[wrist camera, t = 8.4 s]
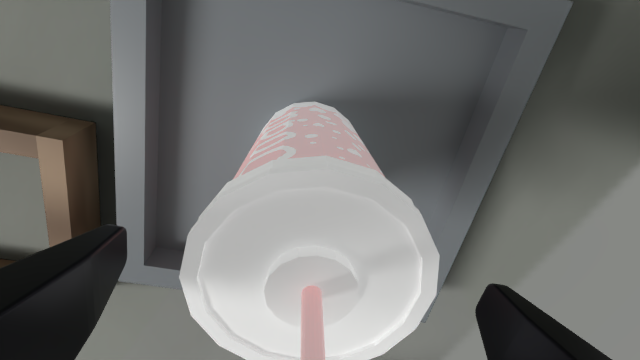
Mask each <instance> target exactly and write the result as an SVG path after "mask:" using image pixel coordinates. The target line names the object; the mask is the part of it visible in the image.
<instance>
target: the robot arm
mask: <svg viewBox="0 0 640 360" xmlns="http://www.w3.org/2000/svg"><path fill="white" fill-rule="evenodd" d="M126 261H127V231H126V229H125V228H124V227H123V226H117V225H110V224H105V225H103V226H100V227H98V228H95V229H93V230H91V231H88V232H86V233H83V234H81V235H79V236H76V237H74V238H71V239H69V240H66V241H64V242H62V243H59V244H57V245H54V246H52V247H50V248H47V249H45V250H42V251H40V252H38V253H35V254H33V255H30V256H28V257H26V258H23V259H21V260H18V261H16V262H13V263H11V264H9V265H6V266H4V267H1V268H0V360H75V358H76V357H77V355H78V353H79V352H80V350H81V349H82V347H83V345H84V344H85V342H86V341H87V339H88V338H89V336H90V334H91V333H92V331H93V329H94V328H95V326H96V324H97V322H98V320H99V318H100V316H101V314H102V312H103V310H104V308H105V306H106V304H107V302H108V300H109V298H110V296H111V294H112V291H113V289H114V287H115V285H116V283H117V281H118V279H119V277H120V275H121V273H122V271H123V269H124V267H125V264H126ZM476 318H477V322H478V326H479V329H480V333H481V337H482V340H483V344H484V348H485V351H486V355H487V359H488V360H612V359H610V358H609V357H607V356H606V355H604V354H603V353H602V352H600V351H599V350H597V349H596V348H595V347H593V346H592V345H590V344H589V343H588V342H586V341H585V340H583V339H582V338H580V337H579V336H577V335H576V334H575V333H573V332H572V331H570V330H569V329H568V328H566V327H565V326H563V325H562V324H560V323H559V322H557V321H556V320H555V319H553V318H552V317H551V316H549V315H548V314H546V313H545V312H543V311H542V310H540V309H539V308H537V307H536V306H535V305H533V304H532V303H531V302H529V301H528V300H526V299H525V298H523V297H522V296H520V295H519V294H518V293H516V292H515V291H513V290H512V289H511V288H509V287H508V286H505V285H500V284H489V285H488V286H487V287H486V289H485V291H484V293H483V295H482V297H481V298H480V300H479V302H478V304H477V306H476Z"/></svg>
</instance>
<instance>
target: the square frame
mask: <svg viewBox="0 0 640 360" xmlns="http://www.w3.org/2000/svg"><path fill="white" fill-rule="evenodd" d="M0 152H3V153H9V154H15V155H21V156H27V157H33V158H39V165H40V173H41V181H42V189H43V197H44V205H45V213H46V221H47V229H48V237H49V245H50V247H52V246H54V245H57V244H59V243H62V242H64V241H66V240H69V239H71V238H74V237H76V236H79V235H81V234H83V233H86V232H88V231H91V230H93V229H95V228H98V227H100V226H101V221H100V202H99V182H98V163H97V144H96V124H95V123H94V122H89V121H84V120H78V119H73V118H67V117H62V116H57V115H51V114H46V113H40V112H35V111H30V110H24V109H19V108H13V107H8V106H3V105H0ZM13 262H16V261H12V260H5V259H0V268H1V267H4V266H6V265H9V264H11V263H13Z"/></svg>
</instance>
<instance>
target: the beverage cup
mask: <svg viewBox="0 0 640 360" xmlns="http://www.w3.org/2000/svg"><path fill="white" fill-rule="evenodd" d="M439 258H440V255H439V253H438V251H437V248H436V246H435V244H434V242H433V239H432V237H431V235H430V233H429V230H428V228H427V226H426V224H425V221H424V219H423V217H422V215H421V213H420V211H419V210H418V209H417V208H416V207H415V206H414V204H413V202H412V200H411V199H410V198H409V197H408V196H407V195H406V194H404V193H403V192H402V191H401V190H399V189H398V188H397V187H396V186H395V185H393V184H392V183H391V182H390V181H389V180H387V179H386V178H385V176H384V175H383V173H382V172H381V170H380V168H379V167H378V165H377V164H376V162H375V161H374V159H373V157H372V156H371V154H370V153H369V151H368V150H367V148H366V146H365V145H364V143H363V142H362V140H361V139H360V137H359V136H358V134H357V132H356V131H355V129H354V128H353V126H352V125H351V123H350V121H349V120H348V119H347V118H345V117H344V116H343V115H342V114H341V113H340V112H338V111H337V110H336V109H335V108H334V107H330V106H327V105H324V104H321V103H318V102H315V101H314V102H302V103H293V104H291V105H289V106H287V107H286V108H284V109H282V110H280V111H278V112H276V113H275V114H274V115H273V117H272V118H271V119H270V120H269V122H268V123H267V124H266V125H265V127H264V128H263V130H262V131H261V133H260V135H259V136H258V138H257V140H256V141H255V143H254V145H253V146H252V148H251V150H250V152H249V153H248V155H247V157H246V158H245V160H244V162H243V163H242V165H241V167H240V168H239V170H238V172H237V174H236V175H235V177H234V179H233V180H231V181H229V182H227V183H226V185H225V186H224V187H223V188H222V189H221V191H220V192H219V193H218V194H217V195H216V197H215V198H214V199H213V200H212V202H211V203H210V204H209V205H208V206H207V208H206V209H205V210H204V211H203V212H202V214H201V215H200V216H199V218H198V221H197V222H196V223H195V225H194V226H193V227H192V228H191V230H190V232H189V234H188V236H187V241H186V246H185V250H184V255H183V260H182V265H181V270H180V275H179V279H180V282H181V285H182V288H183V291H184V295H185V298H186V301H187V304H188V307H189V310H190V314H191V316H192V317H193V318H194V319H195V320H196V321H197V322H198V324H199V325H200V326H201V327H202V328H203V329H204V330H205V331H206V332H207V333H208V334H209V335H210V337H211V338H212V339H213V340H214V341H215V342H216V343H217V344H218V345H219V346H221V347H223V348H225V349H227V350H229V351H231V352H232V353H234V354H236V355H238V356H240V357H242V358H244V359H246V360H369V359H372V358H374V357H377V356H380V355H382V354H384V353H385V352H387V351H388V350H389V349H391V348H392V347H393V346H394V345H396V344H397V343H398V342H400V341H401V340H402V339H404V338H405V337H406V336H407V335H409V334H410V333H411V332H413V331H414V330H415V329H416V328H417V326H418V325H419V323H420V321H421V320H422V318H423V316H424V315H425V313H426V311H427V310H428V308H429V306H430V305H431V303H432V301H433V300H434V298H435V296H436V293H437V281H438V270H439Z"/></svg>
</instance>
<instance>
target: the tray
mask: <svg viewBox="0 0 640 360" xmlns="http://www.w3.org/2000/svg"><path fill="white" fill-rule="evenodd" d="M572 4H573V2H571V1H568V0H110V18H111V52H112V86H113V120H114V154H115V187H116V221H117V226H123V227H124V228H125V229H126V231H127V261H126V264H125V267H124V269H123V271H122V273H121V275H120V277H119V279H118V281H121V282H129V283H136V284H143V285H151V286H158V287H165V288H173V289H180V290H183V288H182V285H181V282H180V279H179V275H180V270H181V265H182V260H183V255H184V250H185V246H186V241H187V236H188V234H189V232H190V230H191V228H192V227H193V226H194V225H195V223H196V222H197V221H198V218H199V216H200V215H201V214H202V212H203V211H204V210H205V209H206V208H207V206H208V205H209V204H210V203H211V202H212V200H213V199H214V198H215V197H216V195H217V194H218V193H219V192H220V191H221V189H222V188H223V187H224V186H225V185H226V183H227V182H229V181H231V180H233V179H234V177H235V175H236V174H237V172H238V170H239V168H240V167H241V165H242V163H243V162H244V160H245V158H246V157H247V155H248V153H249V152H250V150H251V148H252V146H253V145H254V143H255V141H256V140H257V138H258V136H259V135H260V133H261V131H262V130H263V128H264V127H265V125H266V124H267V123H268V122H269V120H270V119H271V118H272V117H273V115H274V114H275V113H276V112H278V111H280V110H282V109H284V108H286V107H287V106H289V105H291V104H293V103H302V102H314V101H315V102H318V103H321V104H324V105H327V106H330V107H334V108H335V109H336V110H337V111H338V112H340V113H341V114H342V115H343V116H344V117H345V118H347V119H348V120H349V121H350V123H351V125H352V126H353V128H354V129H355V131H356V132H357V134H358V136H359V137H360V139H361V140H362V142H363V143H364V145H365V146H366V148H367V150H368V151H369V153H370V154H371V156H372V157H373V159H374V161H375V162H376V164H377V165H378V167H379V168H380V170H381V172H382V173H383V175H384V176H385V178H386V179H387V180H389V181H390V182H391V183H392V184H393V185H395V186H396V187H397V188H398V189H399V190H401V191H402V192H403V193H404V194H406V195H407V196H408V197H409V198H410V199H411V200H412V202H413V204H414V206H415V207H416V208H417V209H418V210H419V211H420V213H421V215H422V217H423V219H424V221H425V224H426V226H427V228H428V230H429V233H430V235H431V237H432V239H433V242H434V244H435V246H436V248H437V251H438V253H439V255H440V258H439V270H438V281H437V293H436V296H435V298H434V300H433V301H432V303H431V305H430V306H429V308H428V310H427V311H426V313H425V315H424V316H423V318H422V320H421V321H420V322H424V323H425V322H426V320H427V318H428V316H429V314H430V312H431V309H432V307H433V305H434V303H435V301H436V299H437V296H438V294H439V292H440V290H441V288H442V286H443V284H444V281H445V279H446V277H447V275H448V273H449V271H450V268H451V266H452V264H453V262H454V260H455V258H456V255H457V253H458V251H459V249H460V247H461V245H462V242H463V240H464V238H465V236H466V234H467V232H468V229H469V227H470V225H471V223H472V221H473V219H474V216H475V214H476V212H477V210H478V208H479V206H480V203H481V201H482V199H483V197H484V195H485V193H486V190H487V188H488V186H489V184H490V182H491V180H492V177H493V175H494V173H495V171H496V169H497V167H498V164H499V162H500V160H501V158H502V156H503V154H504V151H505V149H506V147H507V145H508V143H509V141H510V138H511V136H512V134H513V132H514V130H515V128H516V125H517V123H518V121H519V119H520V117H521V115H522V113H523V110H524V108H525V106H526V104H527V102H528V100H529V97H530V95H531V93H532V91H533V89H534V87H535V84H536V82H537V80H538V78H539V76H540V74H541V71H542V69H543V67H544V65H545V63H546V61H547V58H548V56H549V54H550V52H551V50H552V48H553V45H554V43H555V41H556V39H557V37H558V35H559V32H560V30H561V28H562V26H563V24H564V22H565V19H566V17H567V15H568V13H569V11H570V9H571V6H572Z"/></svg>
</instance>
